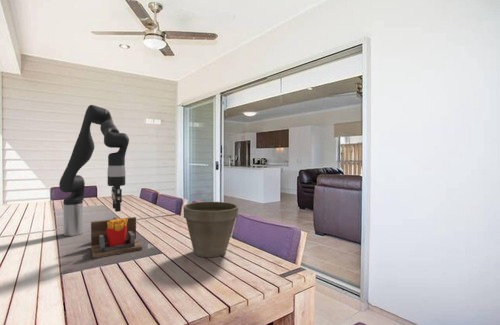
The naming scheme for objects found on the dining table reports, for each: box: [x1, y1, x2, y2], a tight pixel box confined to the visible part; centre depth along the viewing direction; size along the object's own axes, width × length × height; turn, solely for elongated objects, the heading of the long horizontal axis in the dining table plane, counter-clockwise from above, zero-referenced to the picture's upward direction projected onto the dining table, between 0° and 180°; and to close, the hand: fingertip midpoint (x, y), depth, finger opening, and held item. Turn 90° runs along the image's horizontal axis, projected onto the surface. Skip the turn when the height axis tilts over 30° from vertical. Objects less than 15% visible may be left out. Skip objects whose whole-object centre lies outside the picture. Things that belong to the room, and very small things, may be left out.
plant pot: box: [182, 201, 239, 258], centre depth 125 cm, size 25×25×22 cm
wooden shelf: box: [90, 216, 143, 259], centre depth 129 cm, size 17×20×12 cm
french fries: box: [107, 217, 128, 247], centre depth 127 cm, size 9×4×13 cm, turn 140°
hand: (116, 209), depth 127 cm, fingers open, 8 cm apart
